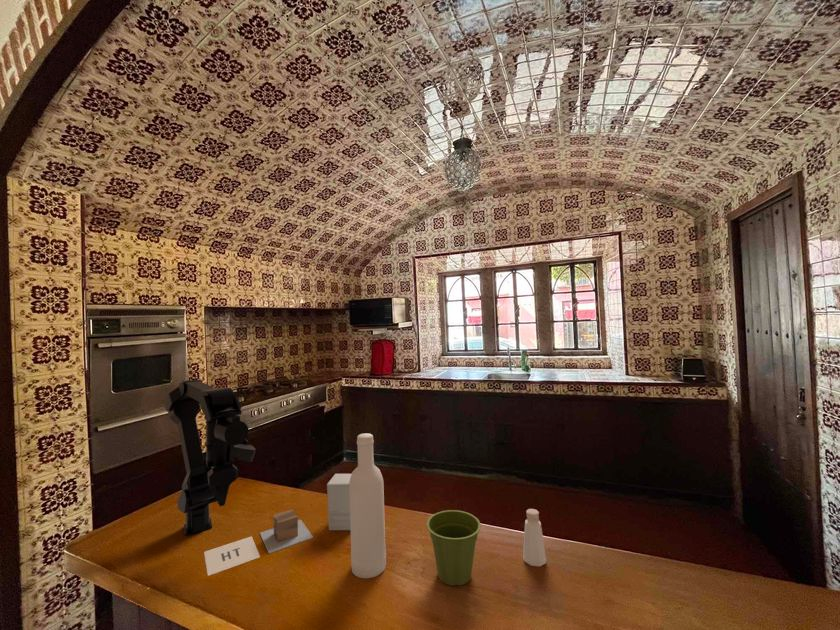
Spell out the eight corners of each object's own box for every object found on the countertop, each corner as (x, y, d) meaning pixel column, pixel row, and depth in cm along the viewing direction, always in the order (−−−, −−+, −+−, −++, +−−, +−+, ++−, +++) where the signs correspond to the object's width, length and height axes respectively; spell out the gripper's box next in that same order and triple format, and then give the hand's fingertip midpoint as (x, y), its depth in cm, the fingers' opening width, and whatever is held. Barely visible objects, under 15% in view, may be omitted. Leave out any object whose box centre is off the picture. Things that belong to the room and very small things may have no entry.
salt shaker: (526, 549, 88) (525, 503, 88) (549, 557, 85) (547, 509, 85) (518, 561, 83) (516, 513, 84) (542, 570, 80) (540, 519, 81)
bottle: (356, 583, 78) (352, 442, 79) (347, 562, 85) (343, 433, 86) (391, 572, 81) (387, 436, 82) (379, 552, 88) (376, 428, 89)
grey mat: (259, 533, 98) (259, 532, 98) (300, 520, 105) (300, 519, 105) (268, 554, 89) (268, 552, 89) (313, 538, 96) (313, 536, 96)
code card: (204, 552, 91) (204, 551, 91) (251, 536, 97) (251, 536, 97) (207, 576, 82) (207, 575, 82) (260, 557, 88) (260, 556, 88)
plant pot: (476, 601, 72) (474, 543, 72) (420, 588, 76) (418, 533, 76) (487, 563, 83) (485, 513, 83) (437, 554, 87) (436, 506, 88)
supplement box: (361, 517, 106) (359, 472, 106) (354, 531, 98) (352, 484, 99) (336, 516, 106) (335, 472, 107) (327, 530, 99) (326, 483, 99)
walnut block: (273, 533, 98) (273, 514, 98) (292, 527, 100) (292, 509, 101) (278, 542, 94) (277, 522, 94) (298, 535, 96) (297, 516, 96)
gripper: (259, 440, 91) (261, 503, 91) (246, 424, 107) (247, 478, 106) (208, 450, 85) (209, 517, 84) (202, 432, 100) (202, 489, 100)
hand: (219, 498), depth 94 cm, fingers open, 9 cm apart
